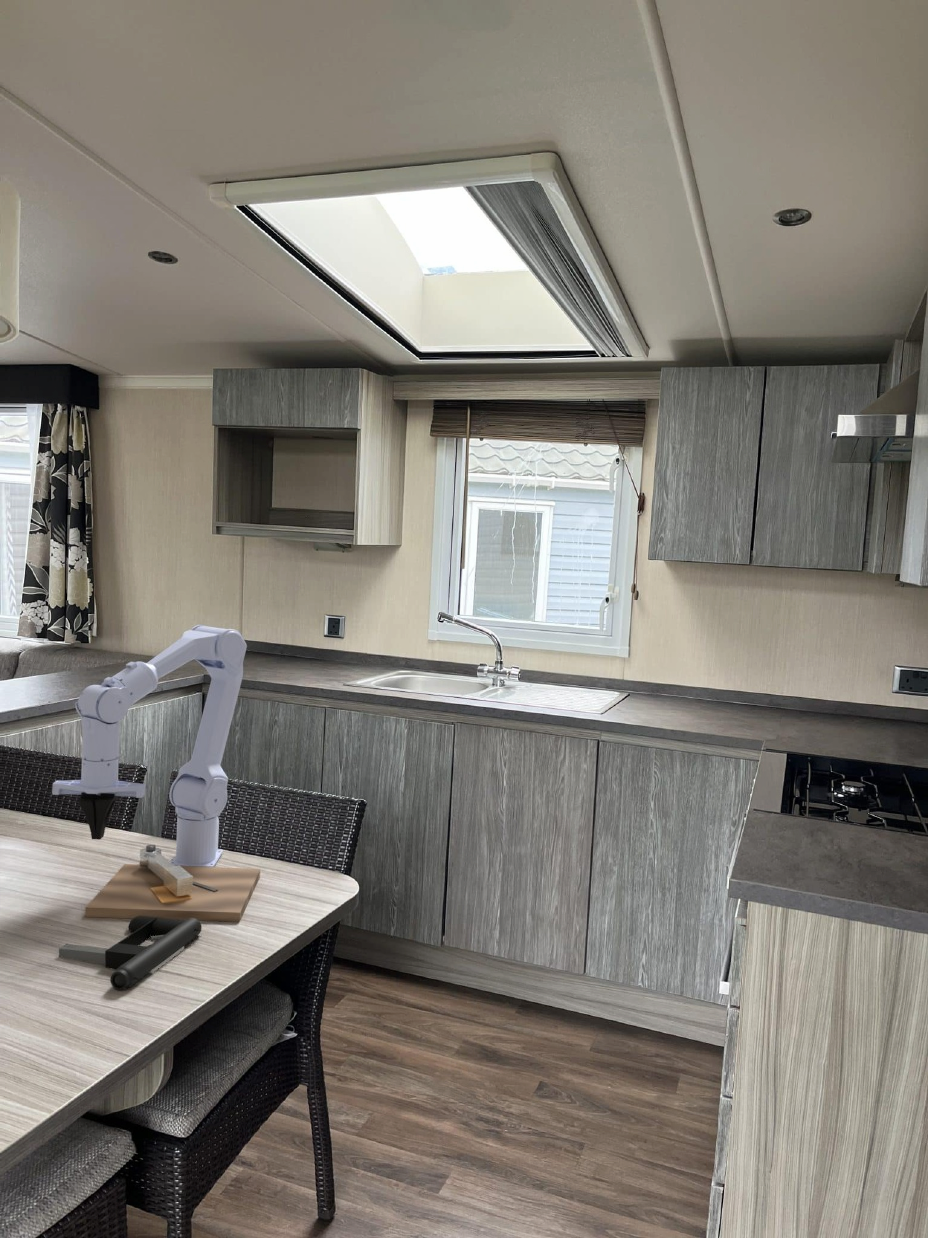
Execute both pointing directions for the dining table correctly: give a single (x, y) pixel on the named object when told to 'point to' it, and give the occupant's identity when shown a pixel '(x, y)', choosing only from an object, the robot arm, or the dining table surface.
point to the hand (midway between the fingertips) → (97, 837)
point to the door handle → (138, 948)
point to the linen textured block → (166, 871)
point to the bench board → (146, 895)
